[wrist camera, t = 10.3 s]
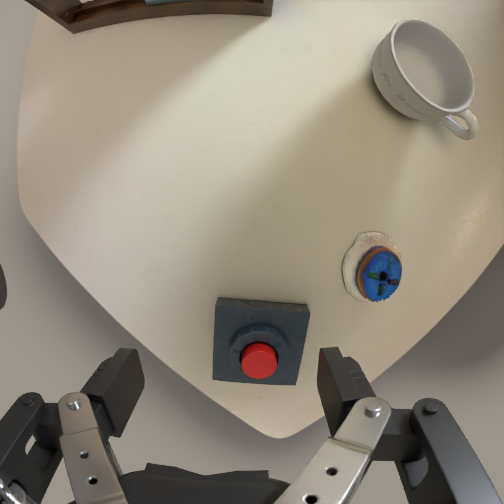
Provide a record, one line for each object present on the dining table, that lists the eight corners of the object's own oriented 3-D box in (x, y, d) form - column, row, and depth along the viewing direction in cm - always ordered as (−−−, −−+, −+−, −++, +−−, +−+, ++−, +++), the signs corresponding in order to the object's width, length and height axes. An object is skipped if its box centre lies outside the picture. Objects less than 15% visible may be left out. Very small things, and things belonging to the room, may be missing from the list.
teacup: (345, 55, 26) (369, 24, 18) (411, 37, 25) (442, 12, 17) (403, 163, 29) (443, 160, 21) (461, 133, 28) (502, 127, 20)
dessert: (395, 305, 32) (388, 316, 27) (346, 291, 36) (330, 299, 31) (411, 239, 31) (407, 239, 26) (360, 228, 34) (346, 225, 30)
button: (240, 368, 31) (240, 377, 29) (243, 340, 30) (242, 349, 28) (273, 370, 31) (274, 379, 29) (277, 343, 30) (279, 352, 28)
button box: (214, 369, 35) (210, 389, 31) (217, 297, 32) (213, 312, 29) (293, 375, 35) (297, 394, 31) (307, 304, 33) (313, 319, 29)
